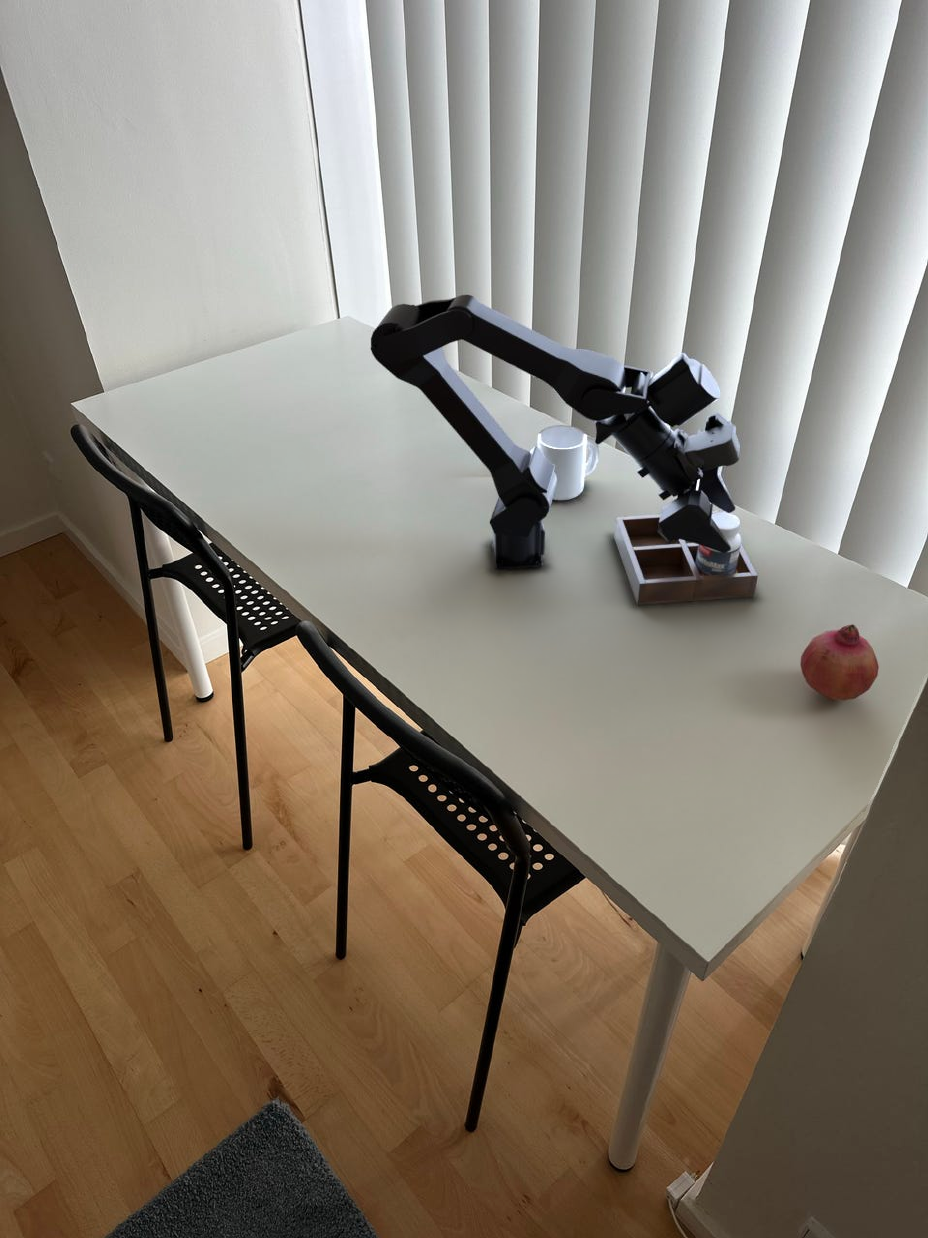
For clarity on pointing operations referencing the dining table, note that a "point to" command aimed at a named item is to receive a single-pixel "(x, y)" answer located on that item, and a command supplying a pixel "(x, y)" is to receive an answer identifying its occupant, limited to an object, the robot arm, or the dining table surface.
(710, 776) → the dining table surface
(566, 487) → the cup
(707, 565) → the pill bottle
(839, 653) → the fruit
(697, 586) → the divided tray
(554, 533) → the dining table surface
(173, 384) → the dining table surface
